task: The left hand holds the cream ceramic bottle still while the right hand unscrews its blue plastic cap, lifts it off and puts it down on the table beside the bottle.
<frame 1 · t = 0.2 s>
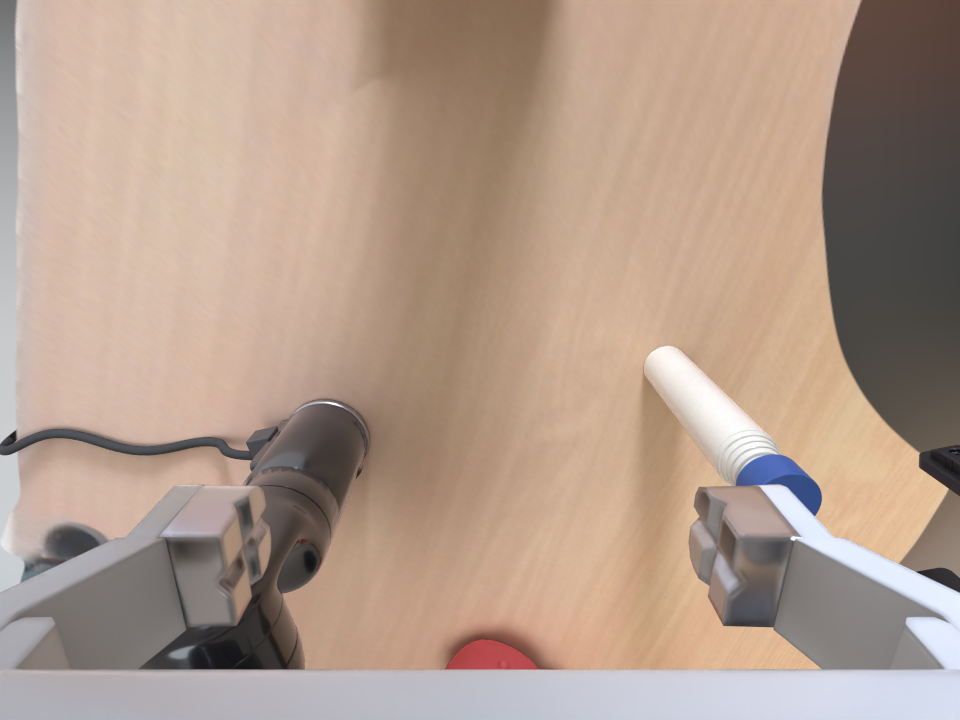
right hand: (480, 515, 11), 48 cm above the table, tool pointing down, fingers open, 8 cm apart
toy: (508, 707, 78), on the table
bottle: (665, 366, 61), on the table
cap: (784, 501, 37), point 25 cm above the table, screwed on, not yet turned
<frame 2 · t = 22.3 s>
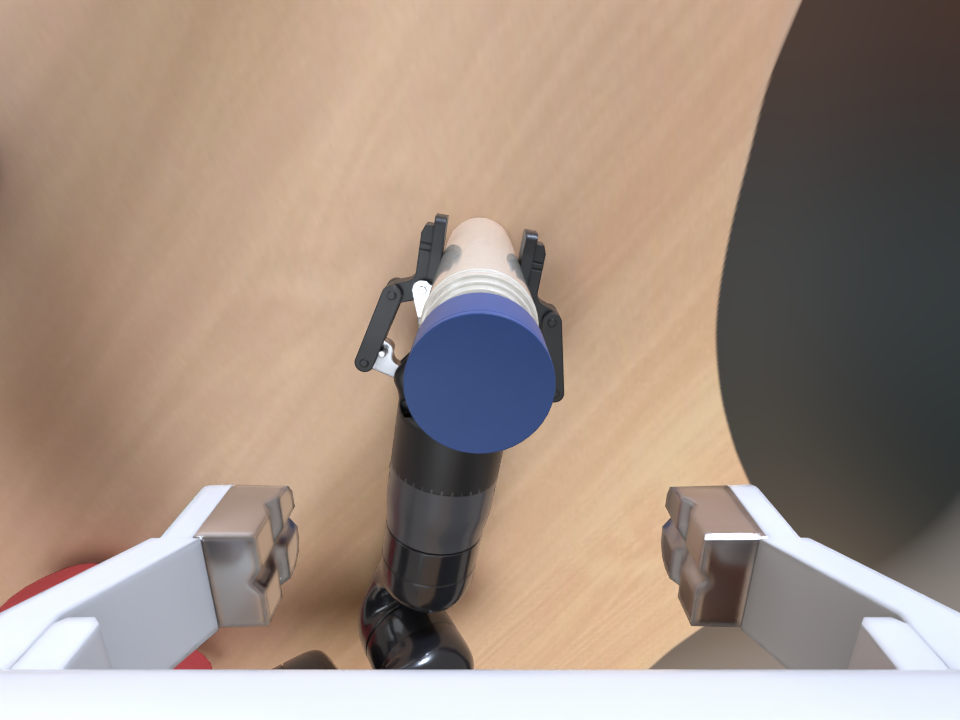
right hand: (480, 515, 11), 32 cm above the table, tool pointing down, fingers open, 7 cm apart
left hand: (486, 224, 33), fingers closed on bottle, 4 cm apart
toy: (125, 672, 55), on the table
bottle: (479, 250, 41), on the table, touching left hand
cap: (479, 383, 17), point 25 cm above the table, screwed on, not yet turned
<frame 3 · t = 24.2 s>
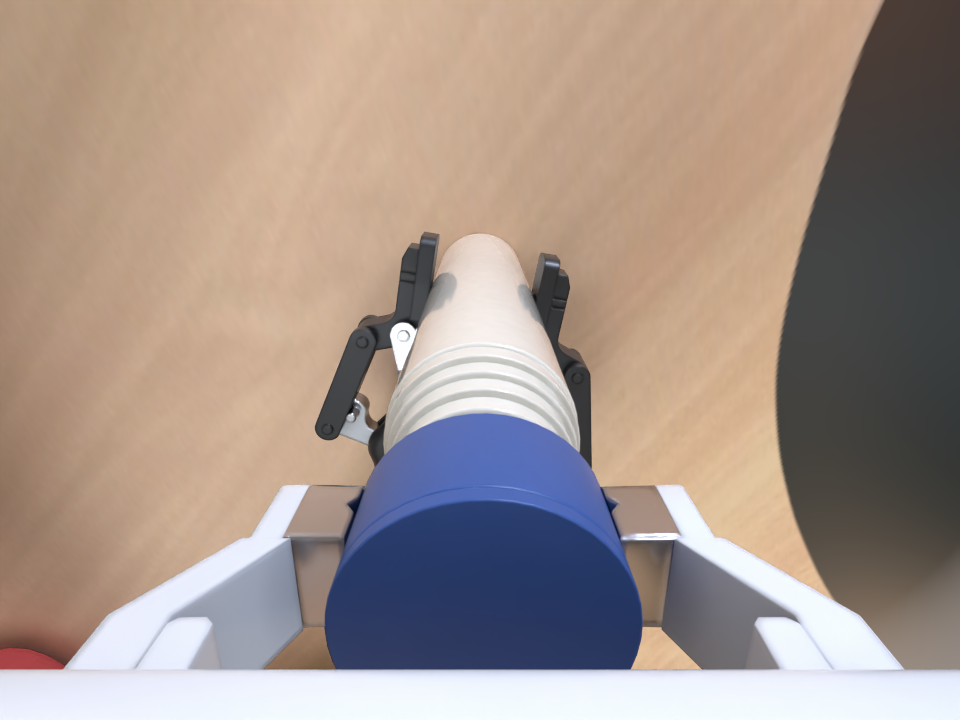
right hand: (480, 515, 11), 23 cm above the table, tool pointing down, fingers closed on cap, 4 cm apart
bottle: (480, 275, 32), on the table, touching left hand
cap: (483, 618, 8), point 25 cm above the table, screwed on, not yet turned, touching right hand
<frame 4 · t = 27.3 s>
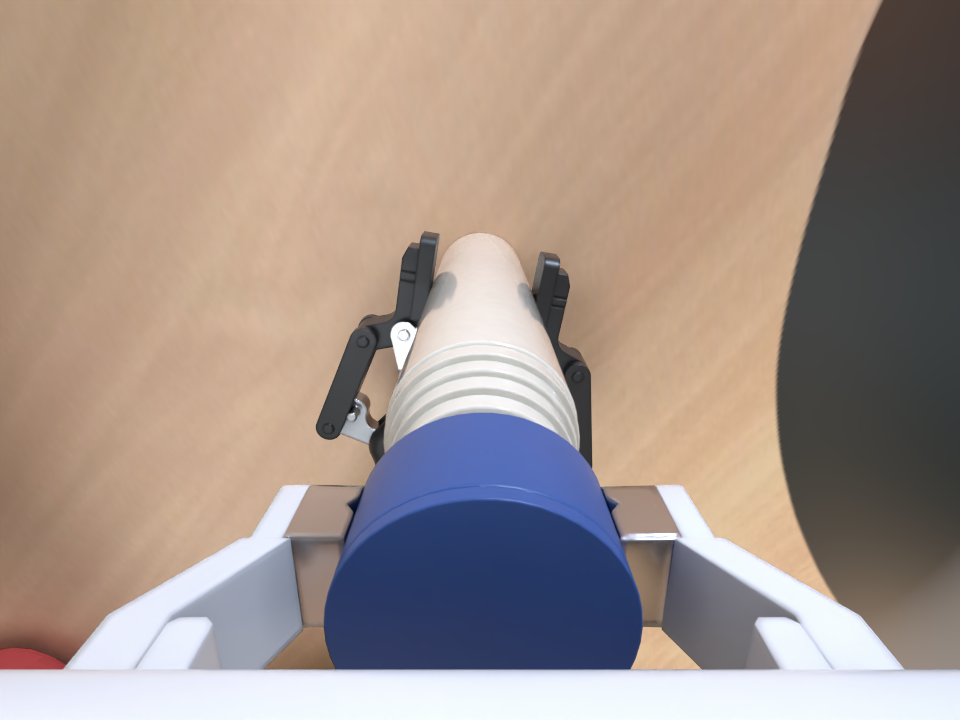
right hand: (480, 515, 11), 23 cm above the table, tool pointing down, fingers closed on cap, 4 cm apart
bottle: (480, 274, 32), on the table, touching left hand
cap: (483, 618, 8), point 25 cm above the table, turned 73° so far, risen 0.1 cm, still on its thread, touching right hand
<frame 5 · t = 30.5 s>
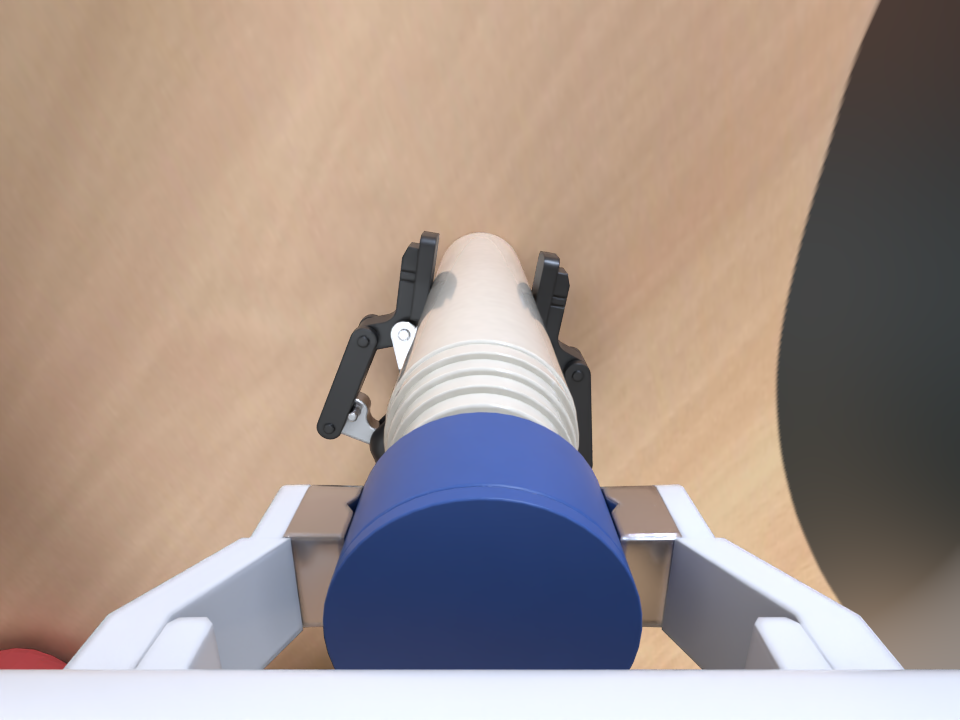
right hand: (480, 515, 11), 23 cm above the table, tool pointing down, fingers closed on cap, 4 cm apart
bottle: (480, 274, 32), on the table, touching left hand
cap: (482, 618, 8), point 25 cm above the table, turned 146° so far, risen 0.1 cm, still on its thread, touching right hand
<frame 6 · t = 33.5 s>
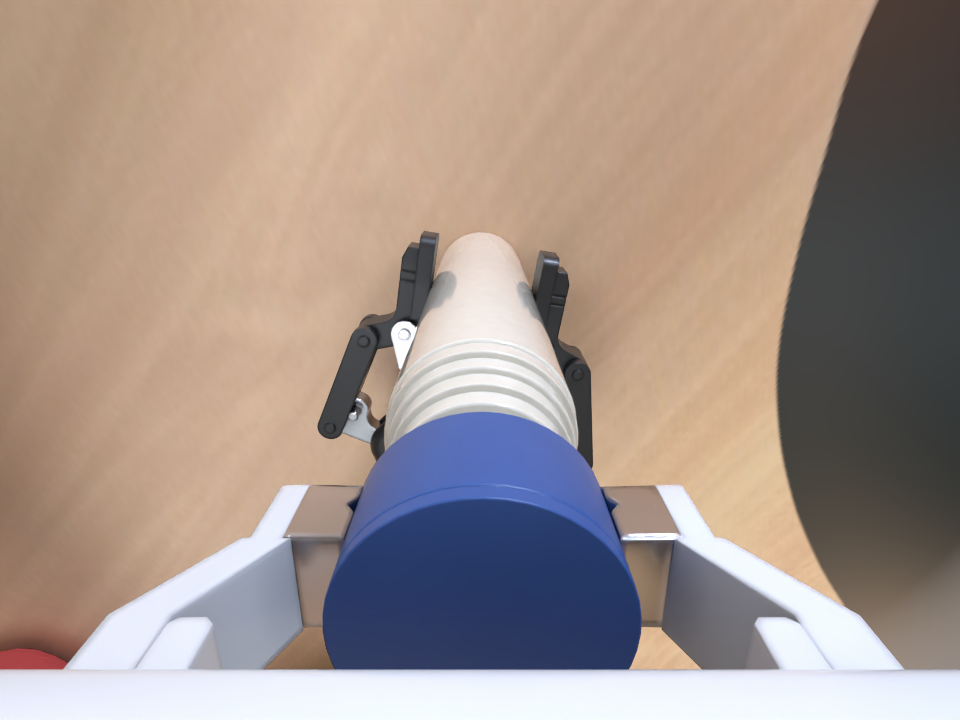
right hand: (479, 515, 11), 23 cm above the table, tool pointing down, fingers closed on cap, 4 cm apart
bottle: (480, 273, 32), on the table, touching left hand
cap: (481, 617, 8), point 26 cm above the table, turned 218° so far, risen 0.2 cm, still on its thread, touching right hand
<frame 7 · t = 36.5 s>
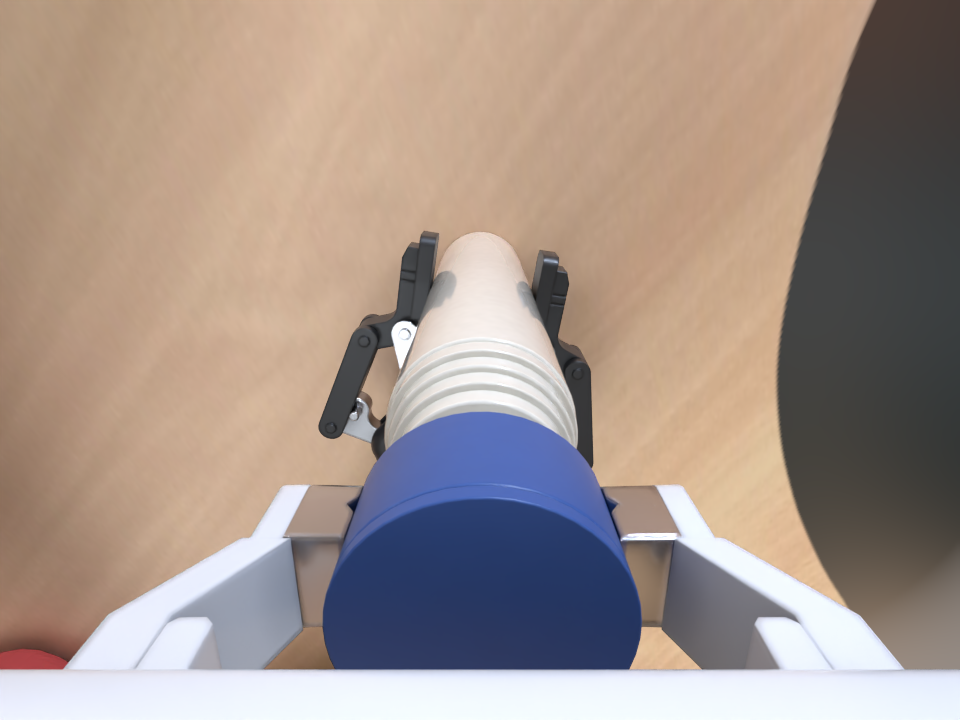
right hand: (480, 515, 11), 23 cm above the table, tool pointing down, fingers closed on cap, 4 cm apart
bottle: (480, 273, 32), on the table, touching left hand
cap: (482, 617, 8), point 26 cm above the table, turned 291° so far, risen 0.3 cm, still on its thread, touching right hand
when the right hand's fingers open (2 cm above the table, at t = 47.6 s): cap drops 2 cm, point 2 cm above the table.
when the left hand's fingers open (7 cm above the table, at t = 48.7 s): bottle stays where it is, on the table.
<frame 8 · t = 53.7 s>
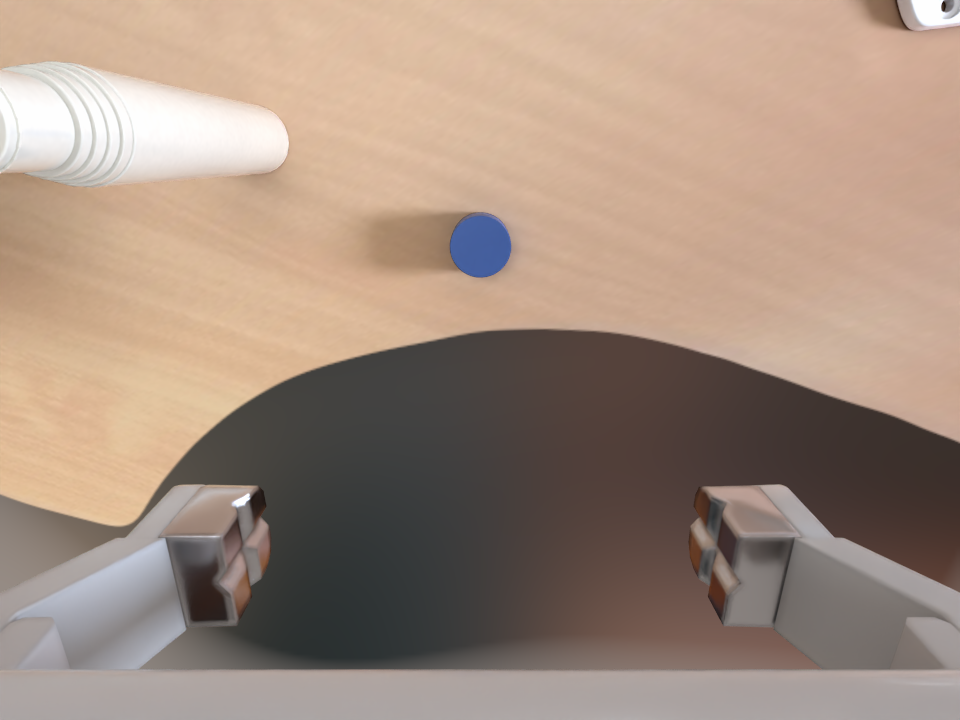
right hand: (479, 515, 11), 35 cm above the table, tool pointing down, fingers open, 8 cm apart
bottle: (256, 139, 41), on the table
cap: (480, 246, 41), point 2 cm above the table, off its thread
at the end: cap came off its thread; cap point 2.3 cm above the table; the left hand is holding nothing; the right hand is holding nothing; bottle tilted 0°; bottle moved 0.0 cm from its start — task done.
